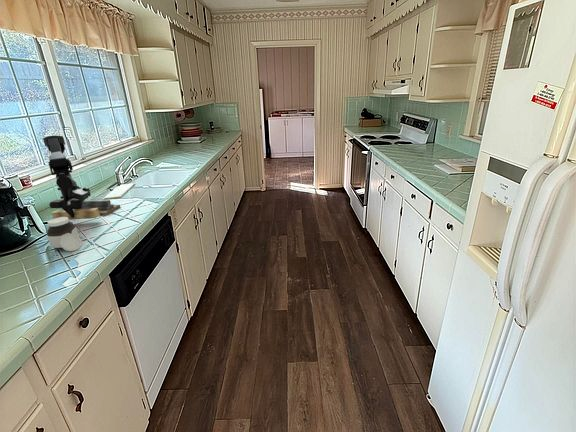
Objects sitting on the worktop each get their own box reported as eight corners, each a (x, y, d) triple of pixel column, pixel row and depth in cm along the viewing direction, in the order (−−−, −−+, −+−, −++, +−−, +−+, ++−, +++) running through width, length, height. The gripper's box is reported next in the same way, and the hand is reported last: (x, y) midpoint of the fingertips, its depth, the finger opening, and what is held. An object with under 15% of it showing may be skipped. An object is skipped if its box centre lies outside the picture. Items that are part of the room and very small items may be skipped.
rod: (54, 220, 150) (51, 212, 149) (58, 218, 153) (56, 210, 152) (96, 218, 150) (93, 210, 149) (99, 215, 153) (97, 207, 152)
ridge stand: (71, 215, 164) (67, 204, 162) (87, 207, 175) (84, 197, 173) (105, 215, 161) (102, 204, 159) (120, 207, 172) (117, 196, 170)
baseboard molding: (99, 200, 188) (120, 198, 189) (98, 196, 187) (119, 194, 188) (117, 186, 216) (135, 185, 218) (116, 182, 215) (134, 181, 217)
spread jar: (66, 241, 133) (57, 215, 129) (92, 240, 133) (84, 214, 128) (45, 255, 122) (34, 227, 118) (73, 253, 121) (63, 226, 117)
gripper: (65, 190, 136) (76, 223, 142) (95, 178, 153) (104, 208, 159) (43, 190, 138) (55, 223, 143) (75, 179, 155) (84, 209, 160)
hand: (76, 215), depth 151 cm, fingers closed on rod, 4 cm apart
